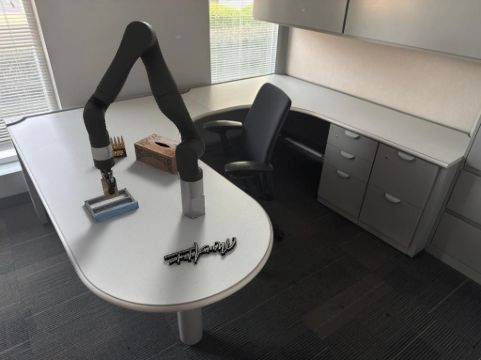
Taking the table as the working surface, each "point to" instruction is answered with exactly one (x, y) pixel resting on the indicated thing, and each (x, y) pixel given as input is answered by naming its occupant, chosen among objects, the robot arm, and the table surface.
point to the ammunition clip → (118, 147)
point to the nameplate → (194, 254)
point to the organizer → (113, 211)
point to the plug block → (106, 191)
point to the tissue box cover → (157, 152)
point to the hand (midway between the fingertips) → (110, 191)
